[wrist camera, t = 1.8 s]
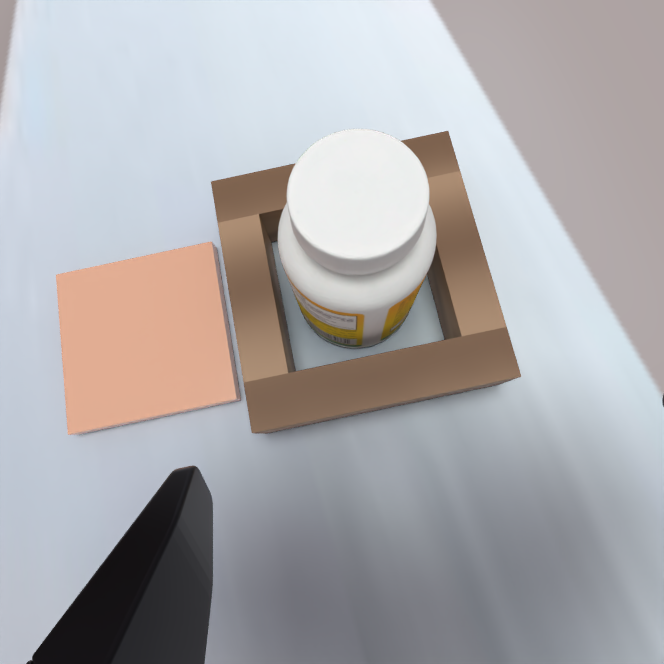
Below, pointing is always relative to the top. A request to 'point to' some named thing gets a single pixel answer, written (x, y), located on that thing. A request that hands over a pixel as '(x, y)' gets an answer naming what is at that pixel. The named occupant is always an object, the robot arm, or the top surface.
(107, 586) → the robot arm
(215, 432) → the top surface
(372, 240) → the supplement bottle
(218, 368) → the coaster
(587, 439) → the top surface
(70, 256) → the top surface
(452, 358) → the pocket block
